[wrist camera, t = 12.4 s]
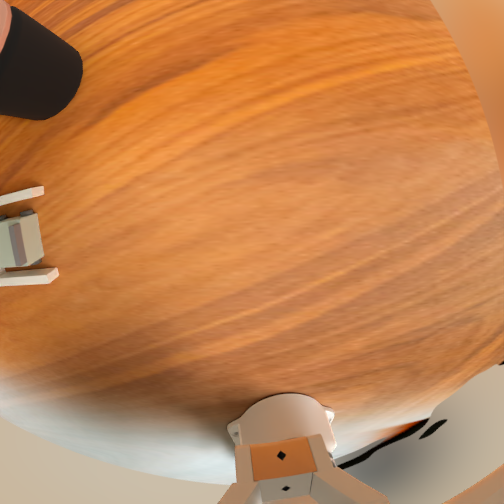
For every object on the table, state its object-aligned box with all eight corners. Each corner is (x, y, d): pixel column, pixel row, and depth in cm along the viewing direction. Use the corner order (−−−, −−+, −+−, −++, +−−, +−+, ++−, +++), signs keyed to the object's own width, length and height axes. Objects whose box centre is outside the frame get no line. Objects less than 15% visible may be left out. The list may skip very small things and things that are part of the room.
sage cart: (45, 259, 34) (23, 274, 28) (8, 262, 33) (-14, 276, 27) (37, 208, 32) (12, 216, 26) (0, 215, 31) (-25, 224, 25)
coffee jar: (29, 58, 25) (-51, 25, 8) (91, 39, 26) (22, -22, 9) (20, 128, 28) (-73, 122, 11) (83, 113, 29) (-10, 86, 12)
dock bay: (59, 275, 34) (49, 283, 31) (3, 279, 33) (-8, 286, 30) (43, 185, 31) (31, 187, 28) (-13, 200, 30) (-25, 204, 27)
